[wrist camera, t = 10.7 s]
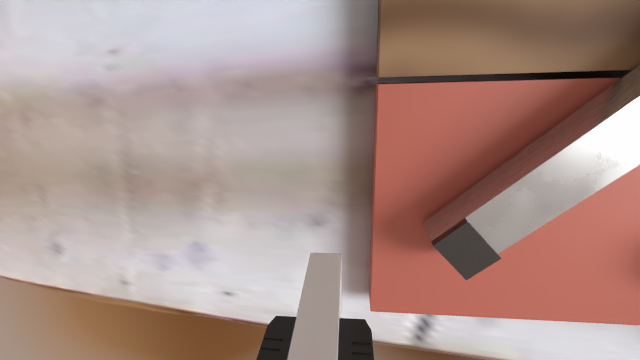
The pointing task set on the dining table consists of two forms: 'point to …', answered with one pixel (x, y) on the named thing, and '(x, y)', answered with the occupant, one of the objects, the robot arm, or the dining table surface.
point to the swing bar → (542, 180)
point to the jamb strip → (506, 36)
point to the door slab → (468, 169)
